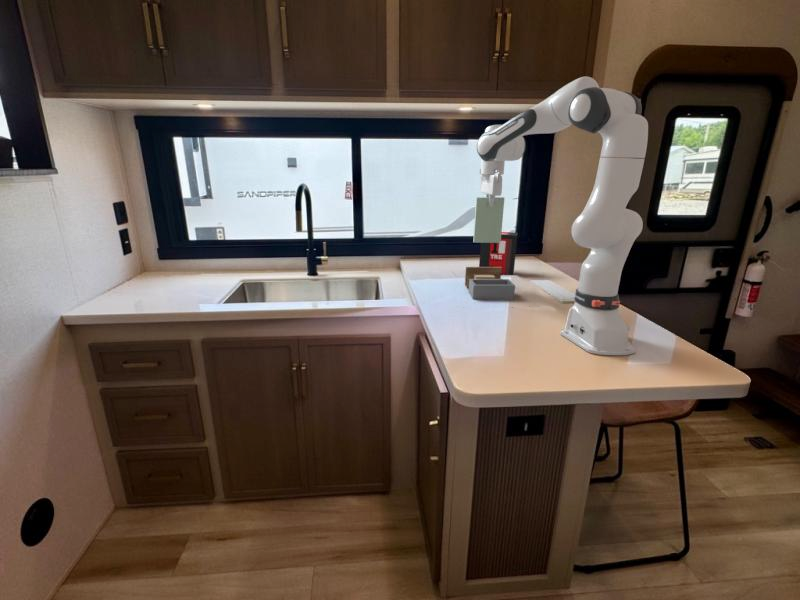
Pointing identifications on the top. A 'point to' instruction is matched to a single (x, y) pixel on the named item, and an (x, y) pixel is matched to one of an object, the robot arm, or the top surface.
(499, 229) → the sheet
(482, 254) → the cleaning product box
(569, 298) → the baseboard molding
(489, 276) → the offcut upper
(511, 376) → the top surface
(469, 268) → the rack
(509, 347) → the top surface
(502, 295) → the bin
